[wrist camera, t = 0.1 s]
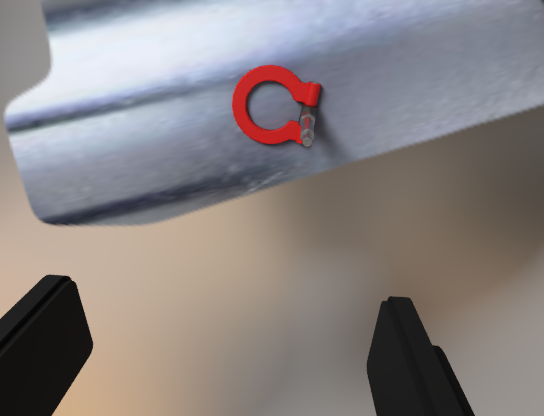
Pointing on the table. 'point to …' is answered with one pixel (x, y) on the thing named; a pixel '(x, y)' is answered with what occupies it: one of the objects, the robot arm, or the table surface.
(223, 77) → the table surface
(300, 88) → the tow hook
